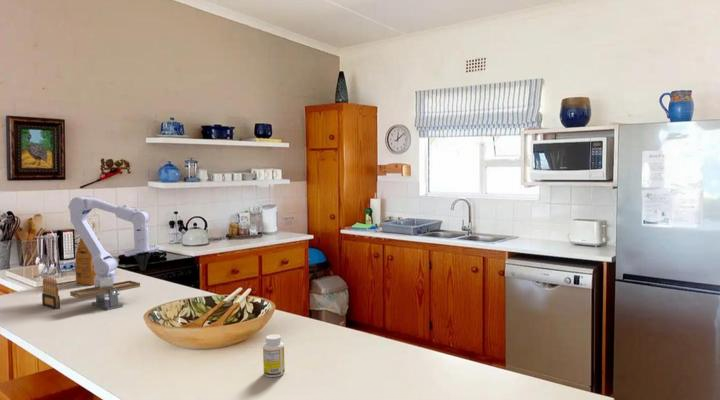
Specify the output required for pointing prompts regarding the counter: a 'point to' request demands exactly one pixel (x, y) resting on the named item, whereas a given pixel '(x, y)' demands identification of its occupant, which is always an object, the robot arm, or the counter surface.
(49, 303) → the ammunition clip
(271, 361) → the supplement bottle
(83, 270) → the coffee package
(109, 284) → the block
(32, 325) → the counter surface
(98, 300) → the stand
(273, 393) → the counter surface
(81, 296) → the wooden tray
